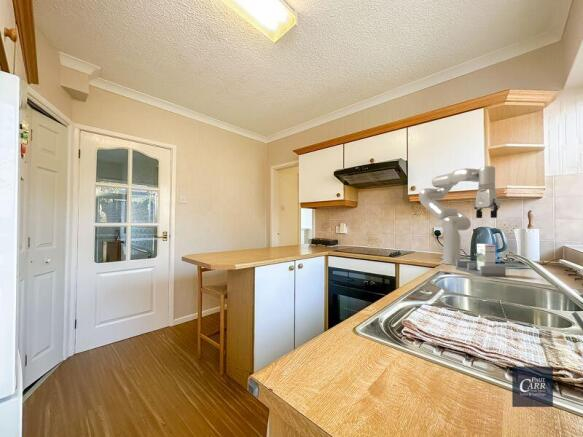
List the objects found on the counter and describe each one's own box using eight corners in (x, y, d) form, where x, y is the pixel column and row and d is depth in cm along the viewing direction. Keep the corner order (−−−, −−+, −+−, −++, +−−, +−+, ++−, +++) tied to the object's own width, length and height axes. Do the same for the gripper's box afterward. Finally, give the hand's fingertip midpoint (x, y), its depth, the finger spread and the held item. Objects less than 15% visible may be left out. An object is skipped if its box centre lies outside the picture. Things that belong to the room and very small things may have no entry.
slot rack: (456, 269, 141) (456, 260, 141) (477, 269, 141) (477, 261, 141) (481, 276, 123) (481, 266, 123) (505, 276, 124) (505, 266, 124)
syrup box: (495, 272, 125) (496, 244, 126) (484, 272, 125) (485, 244, 126) (486, 270, 131) (487, 243, 131) (476, 270, 131) (476, 243, 131)
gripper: (468, 189, 148) (468, 217, 148) (493, 185, 131) (493, 217, 131) (480, 190, 149) (479, 218, 148) (506, 186, 131) (506, 217, 131)
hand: (486, 217), depth 140 cm, fingers open, 9 cm apart
